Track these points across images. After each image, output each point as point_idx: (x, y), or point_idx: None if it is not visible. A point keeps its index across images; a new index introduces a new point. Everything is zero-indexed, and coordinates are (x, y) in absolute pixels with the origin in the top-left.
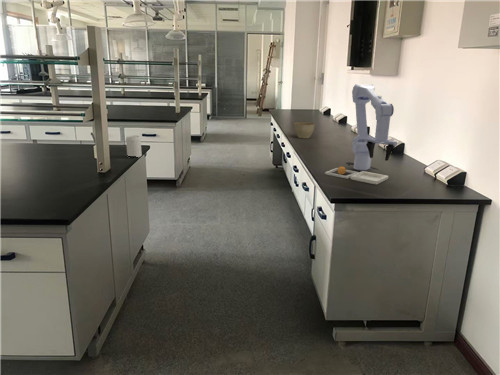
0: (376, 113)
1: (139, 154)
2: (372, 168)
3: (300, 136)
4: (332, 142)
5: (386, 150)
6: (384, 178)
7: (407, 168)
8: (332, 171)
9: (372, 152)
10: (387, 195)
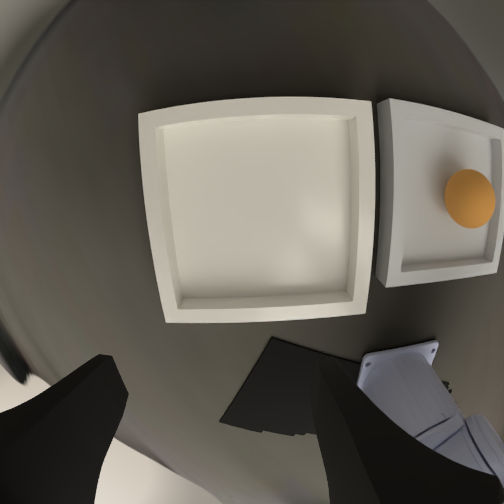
0: None
1: None
2: None
3: None
4: None
5: (16, 431)
6: (155, 256)
7: (238, 482)
8: (496, 196)
9: (328, 444)
10: (60, 47)
